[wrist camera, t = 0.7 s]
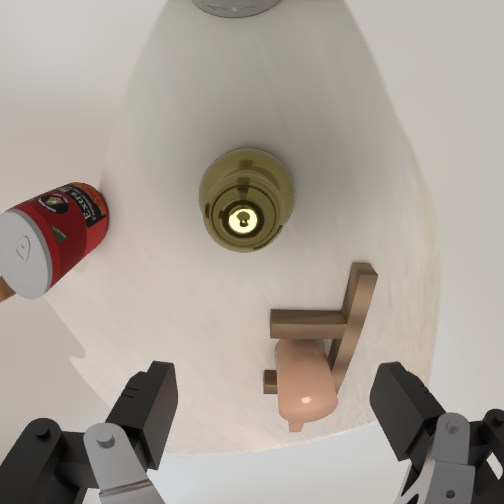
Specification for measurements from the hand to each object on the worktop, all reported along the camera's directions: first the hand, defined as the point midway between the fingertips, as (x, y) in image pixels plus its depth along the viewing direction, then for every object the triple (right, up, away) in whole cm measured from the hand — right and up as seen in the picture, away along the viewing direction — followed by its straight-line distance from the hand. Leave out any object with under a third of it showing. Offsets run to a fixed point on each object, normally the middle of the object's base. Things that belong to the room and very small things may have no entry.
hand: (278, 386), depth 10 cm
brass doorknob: (-1, +11, +15) cm, 19 cm away
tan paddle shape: (+5, -9, +24) cm, 26 cm away
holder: (+5, -7, +23) cm, 24 cm away
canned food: (-19, +9, +16) cm, 27 cm away
